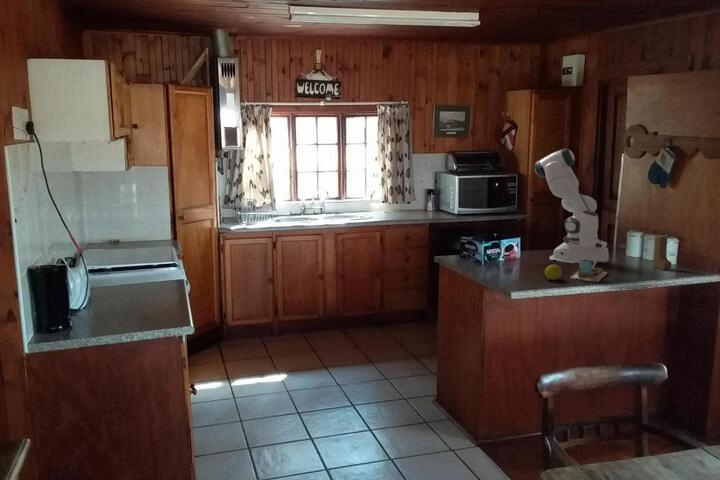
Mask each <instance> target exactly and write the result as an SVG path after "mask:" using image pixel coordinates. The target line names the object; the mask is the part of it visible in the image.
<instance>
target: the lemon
mask: <svg viewBox="0 0 720 480" xmlns="http://www.w3.org/2000/svg"><path fill="white" fill-rule="evenodd" d="M562 272H563V271H562V268H561V267H560V266H559V265H558V264H550V265H548V266H547V267H545V269H544V275H545V278H546V279H548V280H550V281H556V280H558V279H560V278H561V276H562V274H563V273H562Z"/></svg>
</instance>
